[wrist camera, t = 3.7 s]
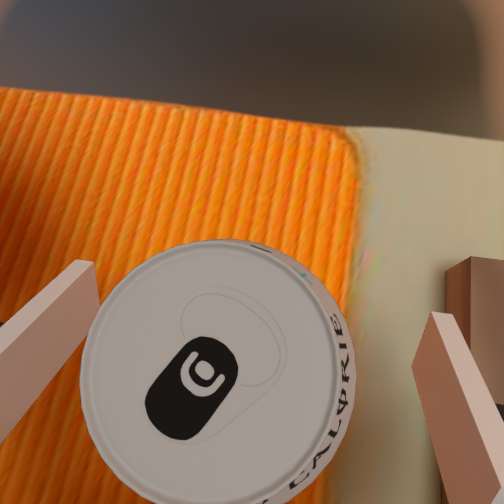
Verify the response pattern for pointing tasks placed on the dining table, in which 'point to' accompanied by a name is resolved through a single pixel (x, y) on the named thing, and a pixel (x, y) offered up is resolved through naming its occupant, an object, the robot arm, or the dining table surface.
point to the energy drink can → (218, 376)
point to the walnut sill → (480, 319)
